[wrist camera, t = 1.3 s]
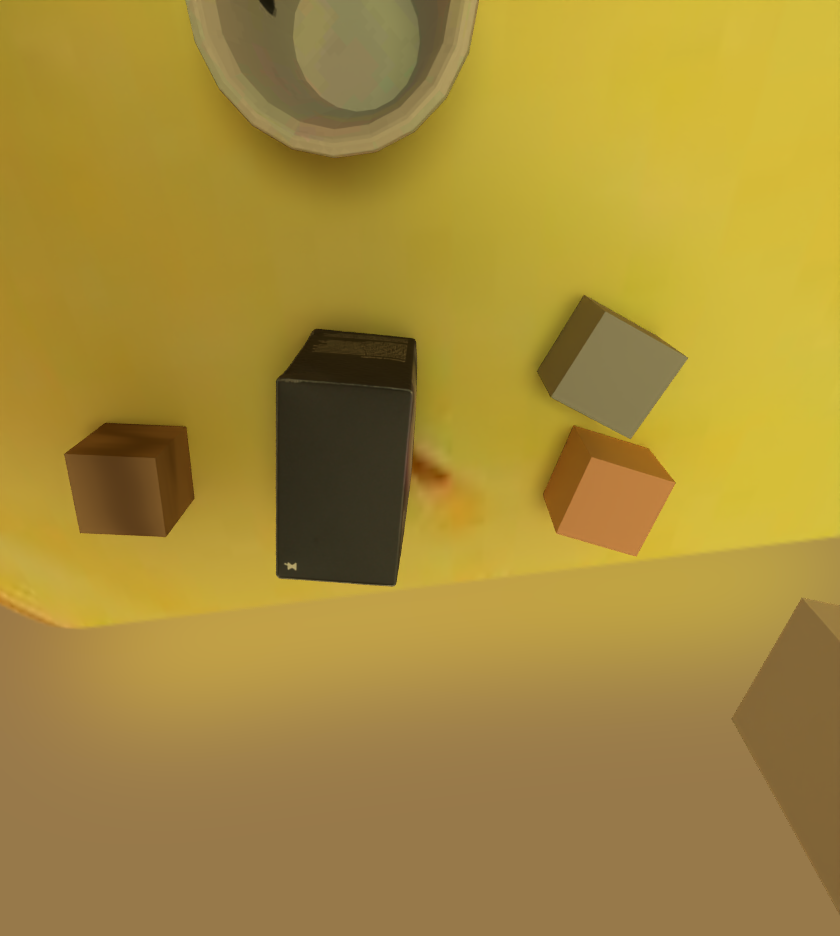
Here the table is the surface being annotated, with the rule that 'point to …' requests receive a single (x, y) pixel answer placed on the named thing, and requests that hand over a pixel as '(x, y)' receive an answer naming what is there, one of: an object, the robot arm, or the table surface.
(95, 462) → the walnut cube
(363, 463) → the small box
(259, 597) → the table surface
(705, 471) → the table surface
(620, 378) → the slate cube
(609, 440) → the terracotta cube
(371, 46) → the mug
